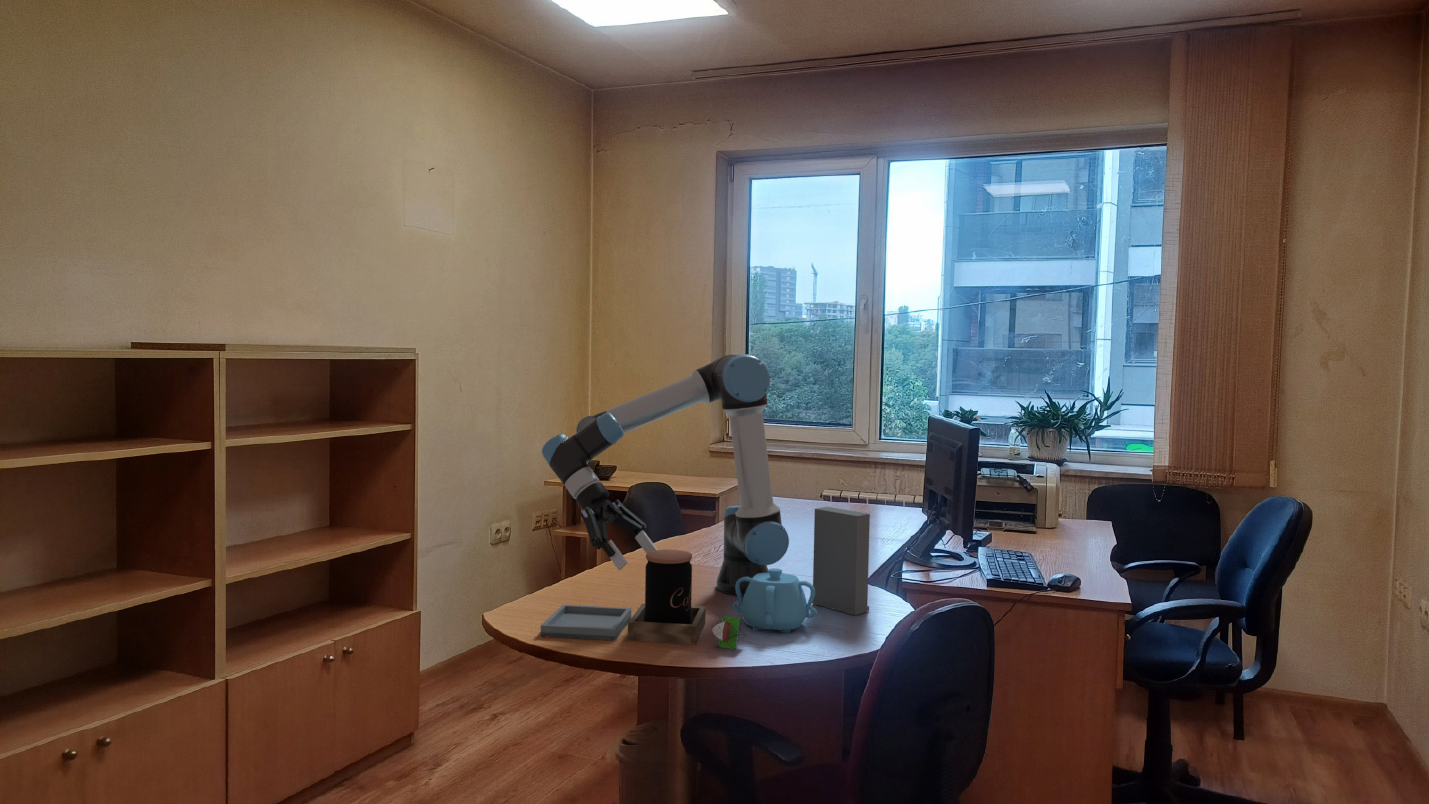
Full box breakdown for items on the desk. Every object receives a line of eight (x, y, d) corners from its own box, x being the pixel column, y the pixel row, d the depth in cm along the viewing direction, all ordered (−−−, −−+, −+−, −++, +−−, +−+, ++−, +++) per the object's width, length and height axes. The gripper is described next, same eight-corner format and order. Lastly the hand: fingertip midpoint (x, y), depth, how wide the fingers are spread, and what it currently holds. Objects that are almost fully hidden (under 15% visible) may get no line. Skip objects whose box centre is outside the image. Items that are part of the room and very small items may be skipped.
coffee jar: (673, 642, 192) (674, 562, 191) (635, 633, 197) (636, 555, 197) (699, 630, 201) (701, 553, 200) (662, 622, 206) (663, 547, 206)
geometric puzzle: (723, 628, 195) (715, 605, 191) (752, 632, 193) (744, 609, 188) (713, 655, 190) (705, 632, 186) (742, 659, 188) (735, 636, 183)
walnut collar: (705, 623, 206) (705, 606, 206) (696, 644, 190) (696, 626, 190) (641, 620, 208) (642, 603, 207) (627, 640, 192) (627, 622, 192)
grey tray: (631, 618, 209) (631, 608, 209) (614, 640, 192) (614, 629, 192) (563, 614, 211) (563, 604, 211) (540, 636, 194) (540, 625, 194)
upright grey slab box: (869, 611, 218) (872, 513, 217) (855, 616, 214) (857, 516, 213) (826, 600, 228) (828, 506, 227) (811, 604, 224) (813, 508, 223)
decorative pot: (787, 613, 216) (788, 559, 215) (821, 631, 201) (822, 573, 201) (728, 620, 209) (729, 564, 208) (759, 640, 194) (760, 580, 194)
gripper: (607, 494, 220) (657, 559, 213) (545, 507, 197) (598, 581, 191) (625, 475, 217) (676, 541, 211) (564, 486, 195) (619, 561, 189)
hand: (639, 560), depth 201 cm, fingers open, 13 cm apart
